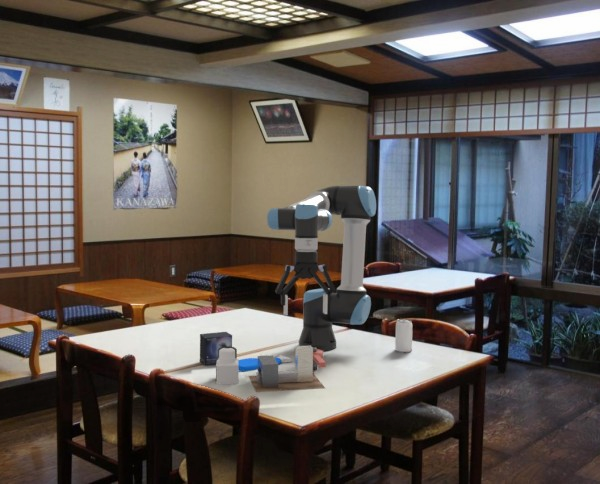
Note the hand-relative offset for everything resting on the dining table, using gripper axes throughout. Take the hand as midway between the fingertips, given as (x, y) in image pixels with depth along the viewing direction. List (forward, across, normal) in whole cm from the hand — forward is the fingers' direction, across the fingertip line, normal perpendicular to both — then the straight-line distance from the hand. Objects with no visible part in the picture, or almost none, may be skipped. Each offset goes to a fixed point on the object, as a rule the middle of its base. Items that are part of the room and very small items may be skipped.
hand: (305, 314), depth 229 cm
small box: (+22, -26, +28) cm, 44 cm away
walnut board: (+22, -8, -5) cm, 24 cm away
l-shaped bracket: (+21, -8, -5) cm, 23 cm away
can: (+22, +48, +29) cm, 60 cm away
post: (+22, +5, +7) cm, 23 cm away
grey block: (+21, -14, -5) cm, 26 cm away
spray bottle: (+22, -11, +19) cm, 32 cm away
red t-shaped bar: (+17, +5, +2) cm, 17 cm away
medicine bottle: (+22, -26, 0) cm, 34 cm away
